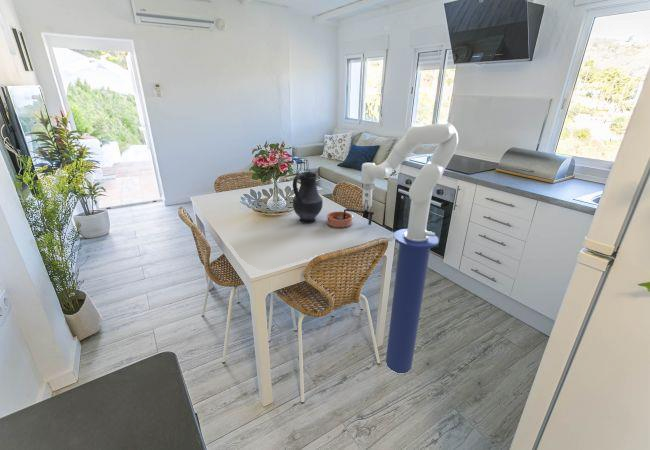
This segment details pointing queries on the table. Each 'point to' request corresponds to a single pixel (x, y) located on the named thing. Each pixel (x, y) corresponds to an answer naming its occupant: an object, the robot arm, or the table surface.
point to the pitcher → (307, 197)
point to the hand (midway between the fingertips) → (365, 216)
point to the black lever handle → (358, 212)
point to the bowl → (339, 223)
